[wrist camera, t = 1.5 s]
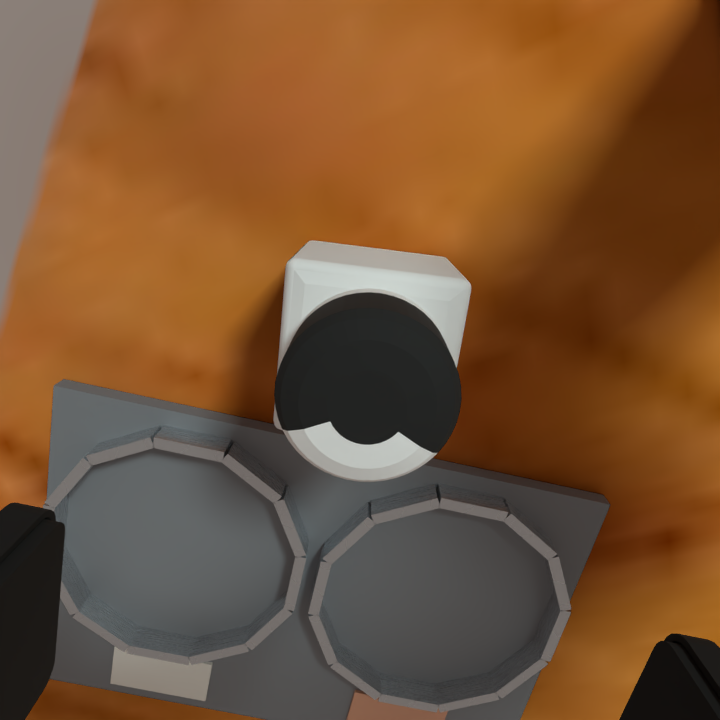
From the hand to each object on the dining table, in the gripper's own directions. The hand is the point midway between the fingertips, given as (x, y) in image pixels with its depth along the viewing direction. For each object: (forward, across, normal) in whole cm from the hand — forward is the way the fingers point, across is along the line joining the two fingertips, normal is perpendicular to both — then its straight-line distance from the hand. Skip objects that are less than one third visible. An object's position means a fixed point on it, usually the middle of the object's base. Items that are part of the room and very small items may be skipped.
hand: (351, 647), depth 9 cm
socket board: (+21, 0, +17) cm, 27 cm away
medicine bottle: (+21, 0, 0) cm, 21 cm away
